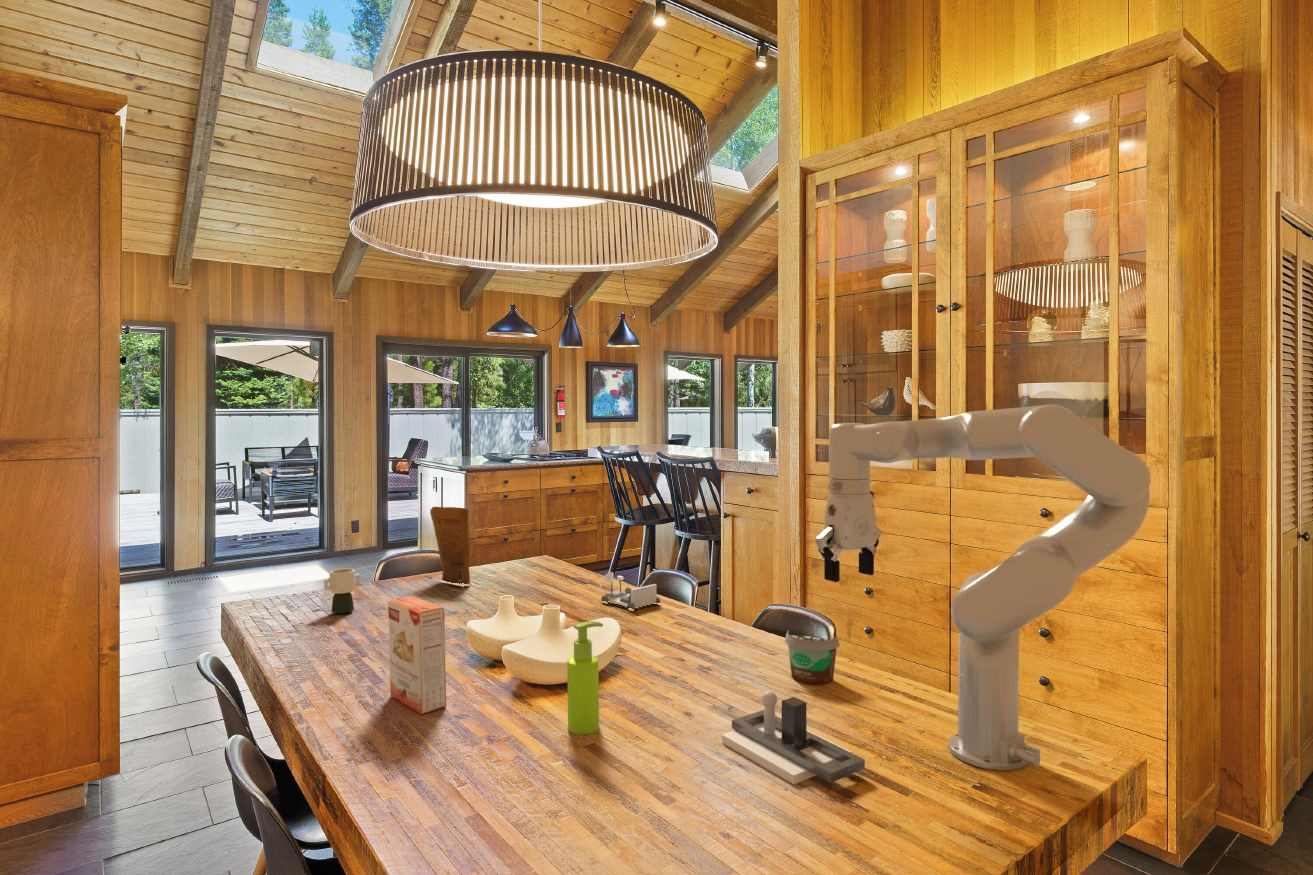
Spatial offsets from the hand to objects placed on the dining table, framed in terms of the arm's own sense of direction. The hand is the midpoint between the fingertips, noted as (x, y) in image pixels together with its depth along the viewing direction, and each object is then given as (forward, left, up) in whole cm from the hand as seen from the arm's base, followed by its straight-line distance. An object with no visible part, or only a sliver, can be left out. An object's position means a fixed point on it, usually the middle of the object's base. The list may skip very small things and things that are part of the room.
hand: (849, 577), depth 135 cm
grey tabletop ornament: (+100, -13, -29) cm, 105 cm away
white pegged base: (-1, +18, -28) cm, 34 cm away
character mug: (+142, +64, -28) cm, 158 cm away
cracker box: (+59, +65, -28) cm, 92 cm away
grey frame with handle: (-3, +18, -27) cm, 32 cm away
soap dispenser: (+28, +42, -28) cm, 58 cm away
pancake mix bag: (+159, +24, -28) cm, 163 cm away
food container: (+20, -10, -28) cm, 36 cm away
